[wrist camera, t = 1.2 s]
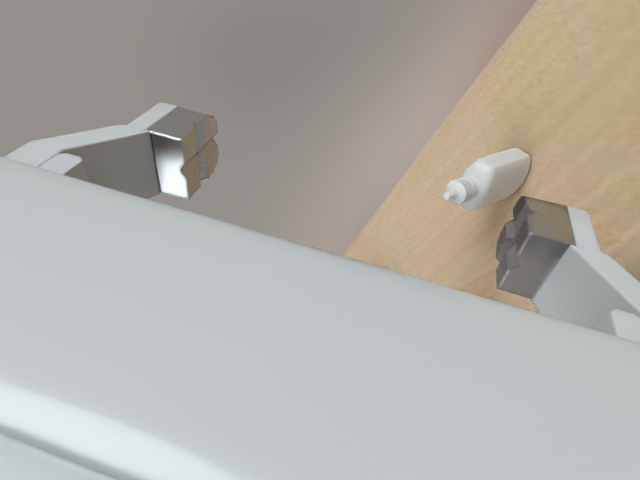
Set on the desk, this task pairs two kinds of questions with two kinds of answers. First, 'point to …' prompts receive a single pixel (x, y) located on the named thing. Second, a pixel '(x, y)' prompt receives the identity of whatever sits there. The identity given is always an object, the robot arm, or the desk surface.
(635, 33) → the desk surface
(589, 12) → the desk surface
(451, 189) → the eye dropper bottle
